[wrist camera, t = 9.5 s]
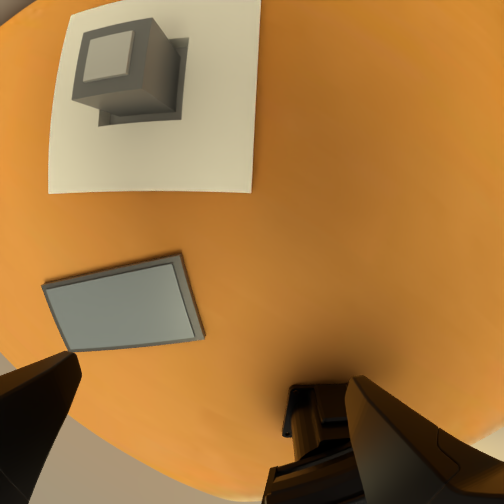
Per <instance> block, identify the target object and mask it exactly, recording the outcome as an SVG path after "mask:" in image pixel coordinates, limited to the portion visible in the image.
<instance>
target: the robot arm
mask: <svg viewBox="0 0 504 504" xmlns="http://www.w3.org/2000/svg"><path fill="white" fill-rule="evenodd" d="M81 377H82V372H81V368H80V365H79V361H78V358H77V355H76V354H75V353H73V352H69V351H63V352H61V353H58V354H56V355H53V356H51V357H48V358H45V359H43V360H40V361H38V362H35V363H33V364H30V365H27V366H25V367H22V368H20V369H17V370H14V371H12V372H9V373H6V374H4V375H1V376H0V504H28V503H29V500H30V497H31V495H32V493H33V490H34V488H35V485H36V482H37V480H38V478H39V475H40V473H41V470H42V468H43V466H44V463H45V461H46V459H47V457H48V454H49V452H50V450H51V448H52V446H53V443H54V441H55V439H56V437H57V435H58V432H59V430H60V428H61V426H62V424H63V422H64V420H65V418H66V416H67V414H68V412H69V409H70V407H71V404H72V402H73V399H74V396H75V394H76V391H77V388H78V386H79V383H80V381H81ZM295 390H297V391H296V392H293V391H295ZM282 436H283V437H287V438H288V437H292V439H293V447H294V456H295V462H293V463H289V464H286V465H283V466H280V467H278V466H276V467H272V468H270V471H269V475H268V479H267V483H266V487H265V491H264V495H263V499H262V503H261V504H504V462H503V461H500V460H498V459H496V458H493V457H491V456H489V455H487V454H485V453H483V452H481V451H479V450H477V449H475V448H473V447H471V446H469V445H467V444H466V443H464V442H462V441H460V440H458V439H457V438H455V437H453V436H452V435H450V434H449V433H447V432H445V431H444V430H442V429H441V428H438V426H436V425H435V424H433V423H432V422H430V421H429V420H427V419H426V418H424V417H423V416H421V415H420V414H418V413H417V412H416V411H414V410H413V409H411V408H410V407H408V406H407V405H405V404H404V403H402V402H401V401H399V400H398V399H397V398H395V397H394V396H392V395H391V394H389V393H388V392H387V391H385V390H384V389H382V388H381V387H379V386H378V385H377V384H375V383H374V382H372V381H371V380H370V379H368V378H367V377H365V376H352V377H351V379H350V381H349V383H345V384H323V385H293V386H291V387H290V389H289V393H288V399H287V405H286V411H285V417H284V423H283V428H282Z"/></svg>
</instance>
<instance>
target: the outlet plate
mask: <svg viewBox="0 0 504 504" xmlns="http://www.w3.org/2000/svg"><path fill="white" fill-rule="evenodd" d="M260 14H261V0H122V1H118V2H114V3H110V4H106V5H103V6H99V7H96V8H92V9H89V10H86V11H83V12H80V13H77V14H74V15H71V18H70V21H69V25H68V28H67V32H66V36H65V40H64V44H63V49H62V53H61V58H60V63H59V68H58V73H57V79H56V85H55V92H54V99H53V107H52V116H51V127H50V140H49V163H48V194H58V193H79V192H108V191H204V192H236V193H251V192H252V173H253V152H254V132H255V112H256V91H257V72H258V52H259V33H260ZM152 17H153V19H154V20H155V21H156V23H157V24H158V25H159V27H160V28H161V30H162V31H163V32H164V34H165V35H166V37H167V38H168V40H169V41H170V42H171V44H172V45H173V47H174V48H175V50H176V51H177V52H178V54H179V55H180V57H181V60H180V69H179V79H178V90H177V102H176V112H171V113H155V114H142V115H132V116H122V117H119V116H116V115H113V114H111V113H108V112H105V111H102V110H99V109H96V108H93V107H91V106H88V105H85V104H82V103H79V102H75V101H72V100H71V99H72V92H73V84H74V78H75V72H76V66H77V61H78V55H79V51H80V46H81V41H82V37H83V33H84V32H88V31H91V30H95V29H99V28H103V27H107V26H111V25H115V24H120V23H124V22H129V21H134V20H140V19H146V18H152Z"/></svg>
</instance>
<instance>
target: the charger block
mask: <svg viewBox="0 0 504 504" xmlns="http://www.w3.org/2000/svg"><path fill="white" fill-rule="evenodd" d="M180 60H181V57H180V55H179V54H178V52H177V51H176V50H175V48H174V47H173V45H172V44H171V42H170V41H169V40H168V38H167V37H166V35H165V34H164V32H163V31H162V30H161V28H160V27H159V25H158V24H157V23H156V21H155V20H154V19H153V17H152V18H146V19H140V20H134V21H129V22H124V23H120V24H115V25H111V26H107V27H103V28H99V29H95V30H91V31H88V32H84V33H83V37H82V41H81V46H80V51H79V55H78V61H77V66H76V72H75V78H74V84H73V92H72V99H71V100H72V101H75V102H79V103H82V104H85V105H88V106H91V107H93V108H96V109H99V110H102V111H105V112H108V113H111V114H113V115H116V116H119V117H122V116H132V115H142V114H155V113H171V112H176V102H177V90H178V79H179V69H180Z"/></svg>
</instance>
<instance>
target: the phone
mask: <svg viewBox="0 0 504 504" xmlns="http://www.w3.org/2000/svg"><path fill="white" fill-rule="evenodd" d="M41 287H42V290H43V292H44V295H45V298H46V300H47V303H48V306H49V308H50V311H51V313H52V316H53V318H54V320H55V323H56V325H57V328H58V330H59V332H60V334H61V337H62V339H63V341H64V343H65V345H66V347H67V349H68V351H69V352H86V351H101V350H115V349H127V348H137V347H147V346H157V345H166V344H174V343H182V342H190V341H197V340H204V339H205V336H206V335H205V331H204V328H203V325H202V322H201V319H200V315H199V312H198V309H197V306H196V302H195V299H194V296H193V292H192V289H191V285H190V282H189V278H188V275H187V271H186V268H185V264H184V260H183V257H182V253H179V254H174V255H170V256H165V257H160V258H156V259H151V260H146V261H142V262H137V263H132V264H128V265H123V266H119V267H114V268H109V269H105V270H100V271H96V272H91V273H87V274H82V275H78V276H74V277H69V278H65V279H60V280H56V281H51V282H47V283H44V284H43V285H41Z"/></svg>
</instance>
